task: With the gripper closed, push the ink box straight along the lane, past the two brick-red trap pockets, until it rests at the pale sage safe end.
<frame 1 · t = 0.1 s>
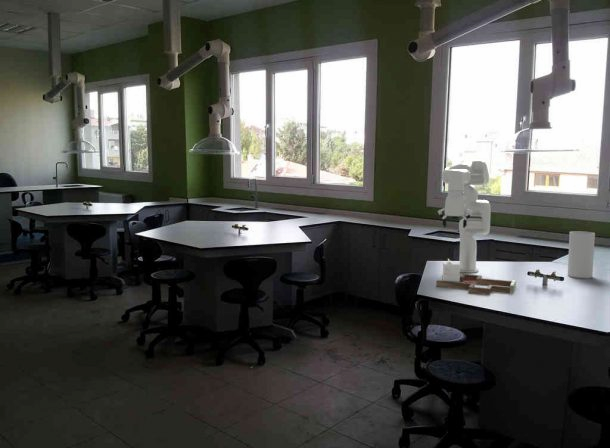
hand: (454, 227, 271), 31 cm above the table, fingers open, 9 cm apart
cylinder vase: (579, 276, 297), on the table
ink box: (450, 284, 279), on the table
trap lane: (474, 286, 274), on the table
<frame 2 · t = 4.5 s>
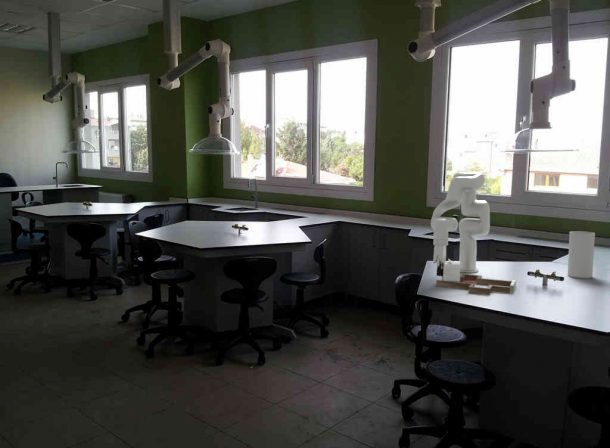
hand: (439, 275, 281), 4 cm above the table, fingers closed
ink box: (451, 284, 279), on the table, touching gripper
everything else where it was.
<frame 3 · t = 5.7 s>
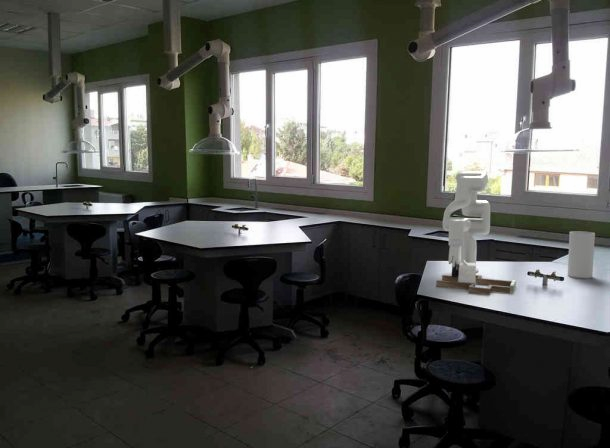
hand: (455, 276, 277), 4 cm above the table, fingers closed
ink box: (466, 286, 276), on the table, touching gripper
everything else where it was.
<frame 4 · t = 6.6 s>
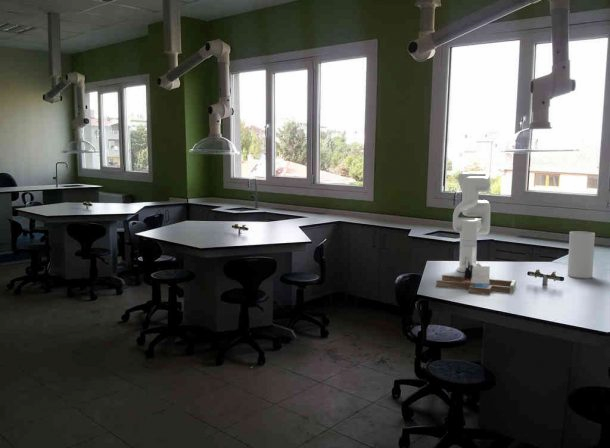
hand: (468, 277, 275), 4 cm above the table, fingers closed
ink box: (479, 287, 273), on the table, touching gripper
everything else where it was.
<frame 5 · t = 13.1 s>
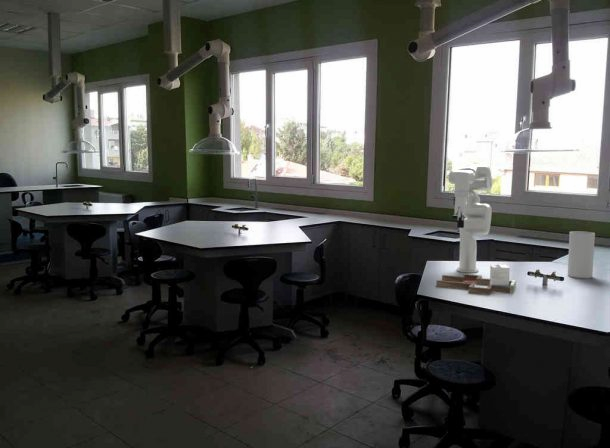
hand: (460, 227, 287), 29 cm above the table, fingers closed
ink box: (499, 288, 269), on the table
everything else where it was.
at the end: ink box inside the target area (1.3 cm from its centre), on the table; ink box tilted 0°; ink box moved 24.2 cm from its start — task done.
